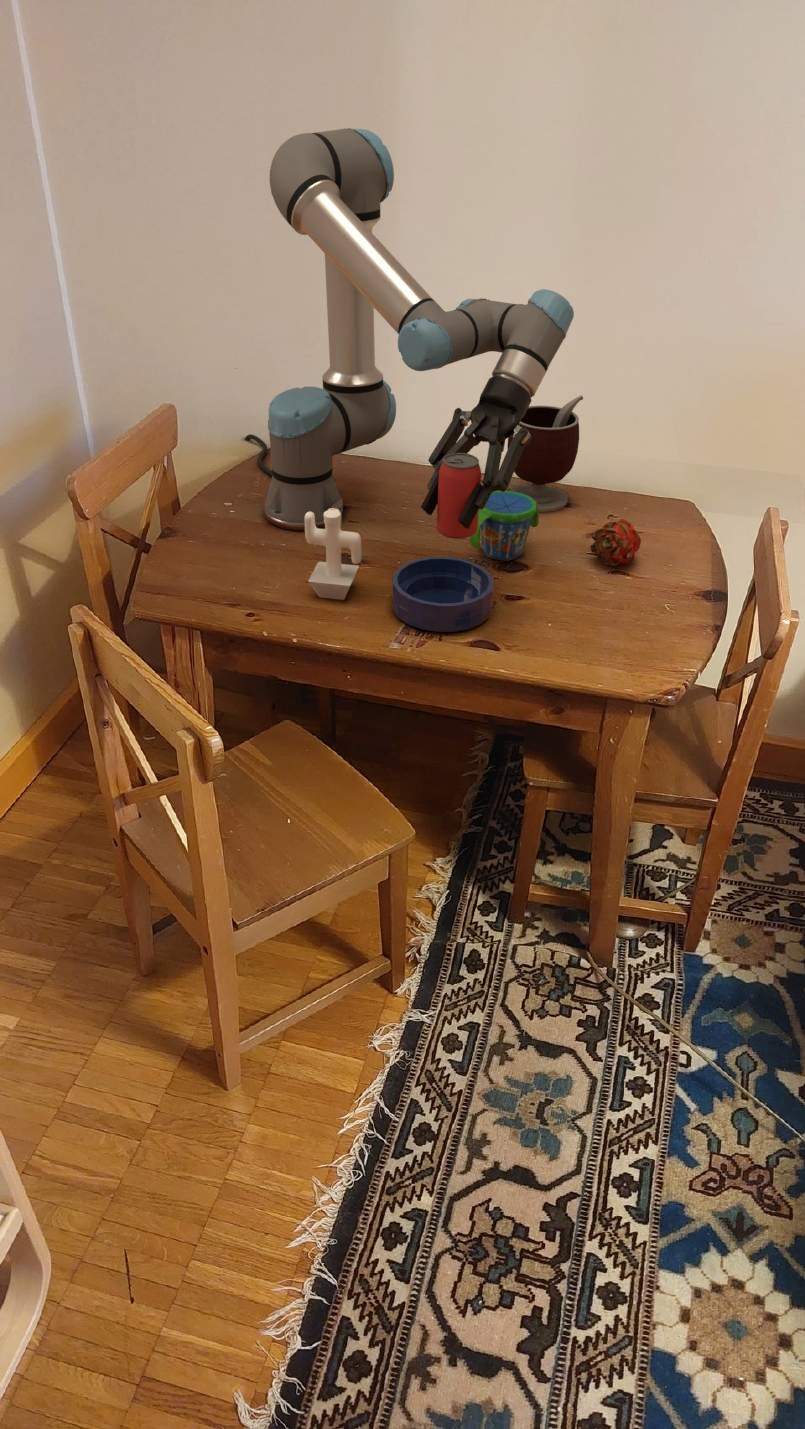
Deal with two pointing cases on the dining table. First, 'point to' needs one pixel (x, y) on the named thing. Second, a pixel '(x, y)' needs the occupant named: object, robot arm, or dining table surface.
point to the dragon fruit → (616, 542)
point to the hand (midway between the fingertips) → (444, 517)
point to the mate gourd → (548, 453)
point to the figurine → (332, 555)
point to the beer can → (456, 493)
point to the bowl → (442, 594)
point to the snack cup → (505, 524)
